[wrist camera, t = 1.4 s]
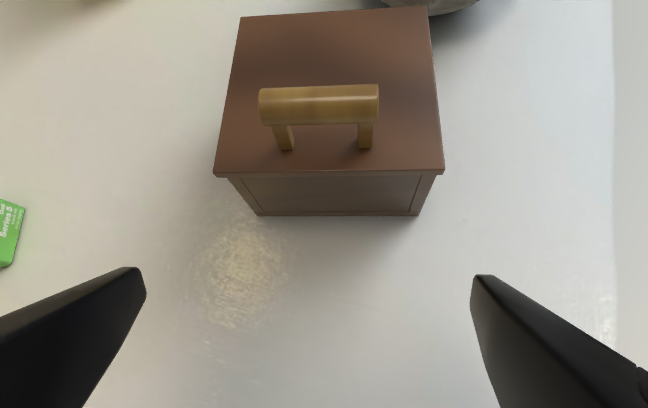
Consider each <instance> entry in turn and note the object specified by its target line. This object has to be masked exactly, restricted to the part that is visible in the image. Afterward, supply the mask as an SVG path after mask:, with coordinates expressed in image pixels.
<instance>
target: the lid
mask: <svg viewBox="0 0 648 408" xmlns="http://www.w3.org/2000/svg"><path fill="white" fill-rule="evenodd" d="M444 171H445V163H444V154H443V145H442V136H441V127H440V118H439V109H438V100H437V91H436V82H435V73H434V64H433V55H432V46H431V37H430V28H429V19H428V10H427V5H423V6H407V7H391V8H376V9H360V10H344V11H328V12H313V13H297V14H281V15H265V16H250V17H241V18H240V24H239V30H238V35H237V41H236V46H235V52H234V57H233V63H232V68H231V74H230V79H229V85H228V90H227V96H226V101H225V107H224V112H223V118H222V124H221V129H220V135H219V140H218V146H217V151H216V157H215V162H214V168H213V174H214V175H215V176H216V177H217V178H229V177H309V176H389V175H442V174H443V173H444Z"/></svg>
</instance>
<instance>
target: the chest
mask: <svg viewBox="0 0 648 408" xmlns="http://www.w3.org/2000/svg"><path fill="white" fill-rule="evenodd" d="M435 177H436V175H389V176H309V177H229V178H227V179H228V180H229V181H230V182H231V184H232V185H233V186H234V187H235V189H236V190H237V191H238V192H239V194H240V195H241V196H242V197H243V199H244V200H245V201H246V202H247V204H248V205H249V206H250V207H251V209H252V210H253V211H254V213H255V214H256V215H257V216H419V213H420V211H421V209H422V207H423V204H424V202H425V200H426V198H427V195H428V193H429V191H430V189H431V186H432V184H433V182H434V180H435Z"/></svg>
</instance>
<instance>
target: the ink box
mask: <svg viewBox="0 0 648 408" xmlns="http://www.w3.org/2000/svg"><path fill="white" fill-rule="evenodd" d="M24 210H25V209H24V208H23V207H21V206H18V205H15V204H13V203H10V202H8V201H5V200H3V199H0V267H2V266H8V265H10V264H11V262H12V260H13V256H14V252H15V248H16V244H17V239H18V235H19V232H20V227H21V223H22V219H23V214H24Z"/></svg>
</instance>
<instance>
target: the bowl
mask: <svg viewBox="0 0 648 408" xmlns="http://www.w3.org/2000/svg"><path fill="white" fill-rule="evenodd" d="M380 1H382V2H384V3H385V4H387V5H389V6H391V7H407V6H423V5H427V10H428V16H435V15H441V14H447V13H451V12H454V11H457V10H460V9H463V8H466V7H469V6H471V5H472V4H474V3H476V2H477V1H479V0H380Z"/></svg>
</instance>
